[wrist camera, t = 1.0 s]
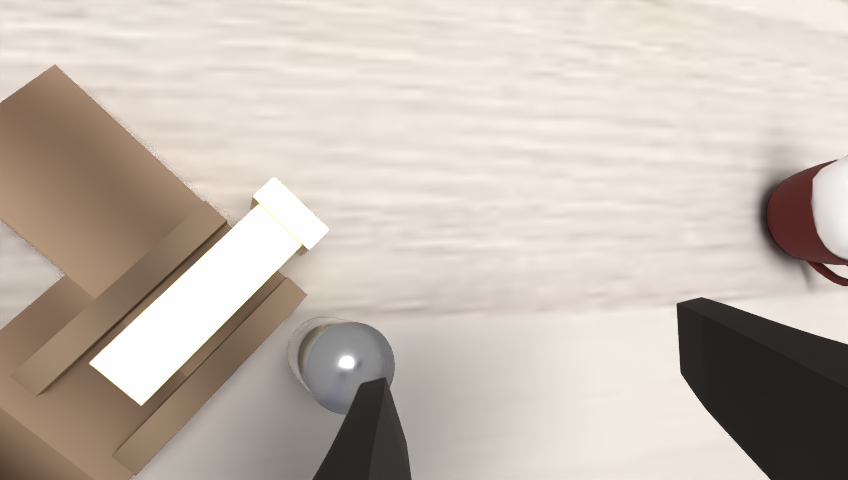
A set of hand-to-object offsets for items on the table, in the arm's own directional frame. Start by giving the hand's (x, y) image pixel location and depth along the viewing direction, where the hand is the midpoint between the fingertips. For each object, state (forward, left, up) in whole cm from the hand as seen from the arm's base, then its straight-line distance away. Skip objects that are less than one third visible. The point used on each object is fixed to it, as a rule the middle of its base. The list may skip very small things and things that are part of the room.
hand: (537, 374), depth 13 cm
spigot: (-2, +2, -12) cm, 13 cm away
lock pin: (-3, +7, -10) cm, 13 cm away
